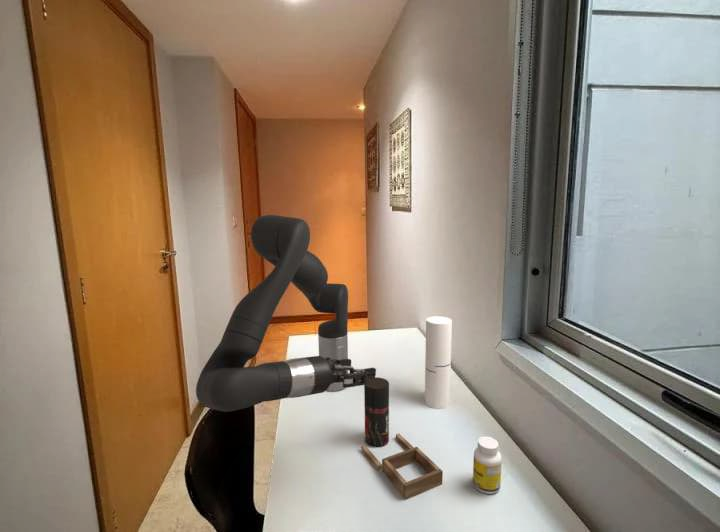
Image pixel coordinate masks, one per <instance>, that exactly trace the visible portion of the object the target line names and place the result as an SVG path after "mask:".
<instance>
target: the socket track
mask: <svg viewBox="0 0 720 532" xmlns="http://www.w3.org/2000/svg"><path fill="white" fill-rule="evenodd" d="M395 440H396V441H397V442H398V443H399V444H400V445H401V446H402V447H403V448H404V449H405V450H403V451H401V452H398V453H395V454H393V455H389V456H387V457H383V458H382V459H381V462H382V463H381V462H380V460H379V459H378V458H377V457H376V456H375V455H374V454H373V453H372V451H371V450H370V448H368V447H367V444H364V445H361V447H360V449H361V452H362V454H363V455H364V456H365V457H366V459H368V460H369V462H370V463H371V465H372V466H373V467H374V468H375V470H377V472H380V471H381V472H382V473H383V474H384V475H385V477H386V478H387V479H388V480H389V482H390V483H391V484H392V485H393V486H394V488H395V489H396V490H397V491H398V492H399V494H400V495H401V496H402V497H403V498H404V500H409V499H411V498H413V497H415V496H418V495H420V494H422V493H424V492H427V491H430V490H431V489H434V488H436V487H439V486H441V485H443V474H444V473H443V472H444V471H443V470H442V469H441V468H440V467H439V466H438V465H437V464H436V463H435V462H434V461H433V460H432V459H431V458H430V457H429V456H428V455H426V454H425V453H424V452H423V451H422V450H421V449H420V448H419V447H418V446H413V445H412V444H411V443H410V442H409V441H408V440H407V439H406V438H405V437H403V436H402V435H401V434H400V433H396V434H395ZM414 463H417V464H418V466H420V468H422V469H423V471H424V472H425V473H426V474H424V475H421V476H419V477H417V478H414V479H411V480H409V481H406V479H405V478H404V476H402V475H401V473H399V472H398V471H397V469H400V468H402V467H405V466H408V465H411V464H414Z"/></svg>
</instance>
